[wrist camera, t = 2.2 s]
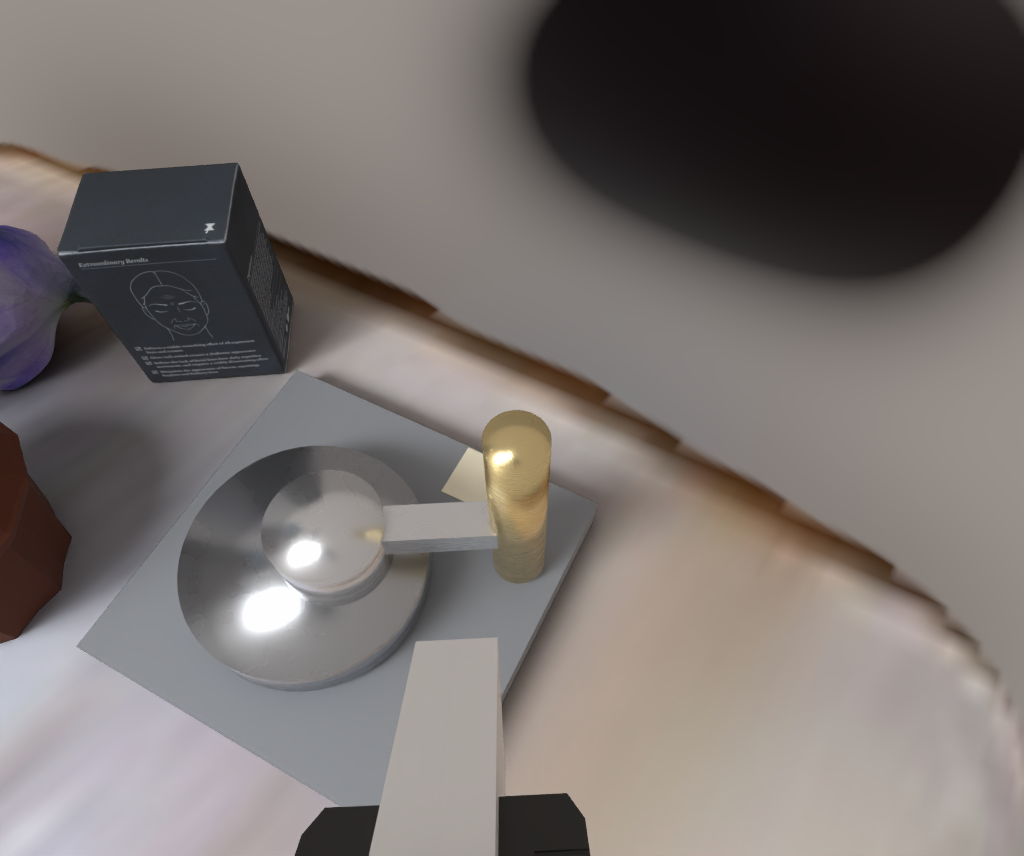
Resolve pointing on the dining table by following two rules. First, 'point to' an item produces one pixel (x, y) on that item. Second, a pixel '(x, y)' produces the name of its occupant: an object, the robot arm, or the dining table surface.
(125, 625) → the stand
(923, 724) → the dining table surface
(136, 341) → the box
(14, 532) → the muffin
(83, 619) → the dining table surface
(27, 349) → the flower
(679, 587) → the dining table surface
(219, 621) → the crank handle
